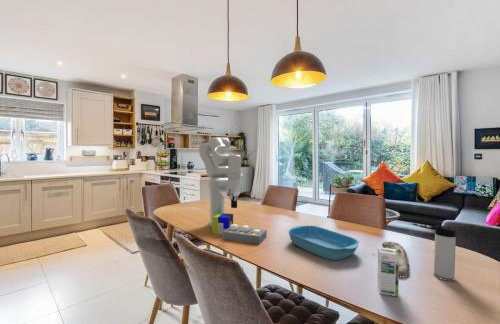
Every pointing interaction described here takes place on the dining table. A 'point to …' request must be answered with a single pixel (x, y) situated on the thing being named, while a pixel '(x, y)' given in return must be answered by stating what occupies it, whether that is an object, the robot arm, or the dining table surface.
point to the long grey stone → (402, 257)
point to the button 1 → (233, 227)
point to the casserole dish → (323, 242)
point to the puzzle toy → (221, 222)
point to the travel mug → (444, 252)
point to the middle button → (245, 228)
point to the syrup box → (388, 271)
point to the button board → (245, 235)
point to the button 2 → (256, 231)
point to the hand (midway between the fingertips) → (234, 207)
